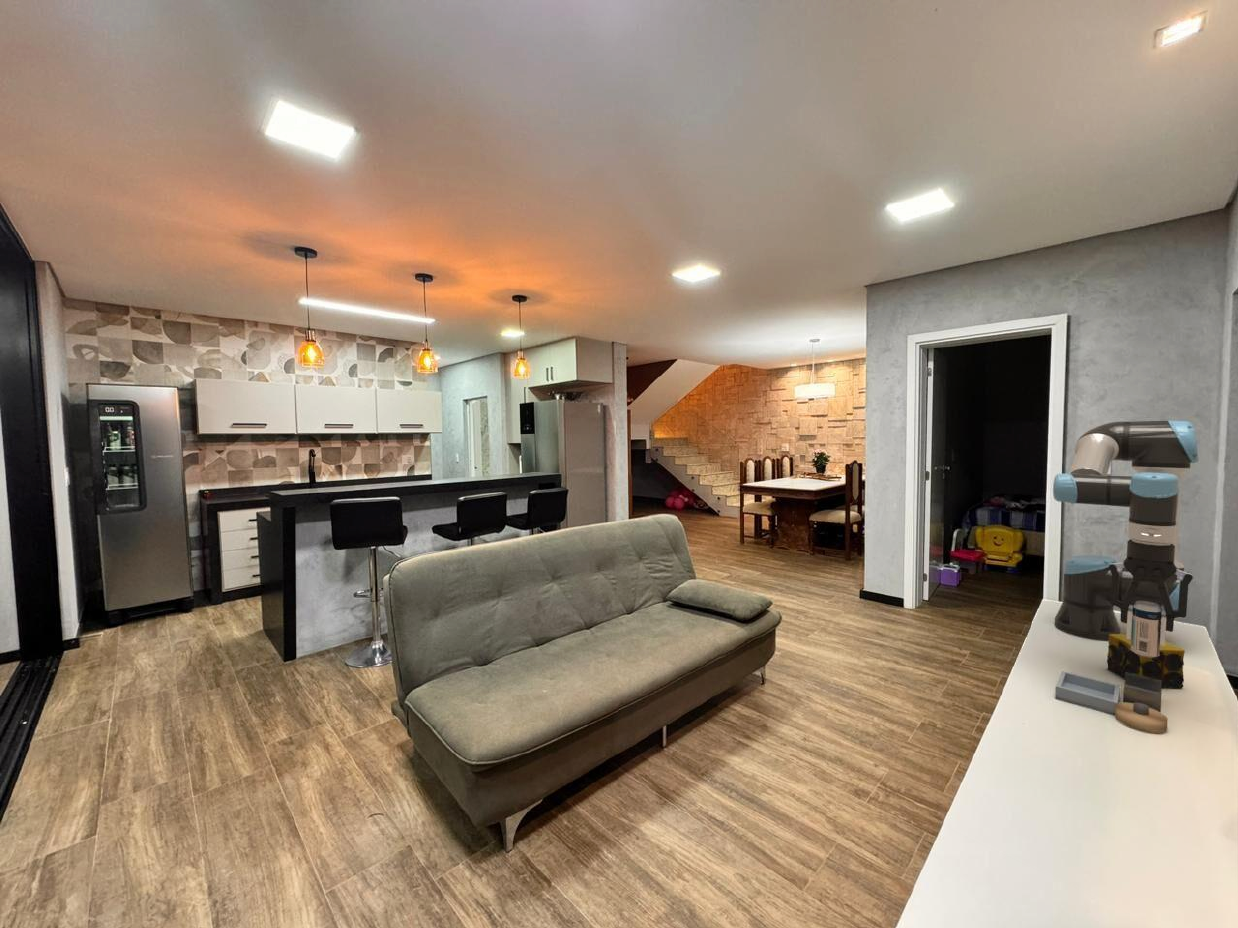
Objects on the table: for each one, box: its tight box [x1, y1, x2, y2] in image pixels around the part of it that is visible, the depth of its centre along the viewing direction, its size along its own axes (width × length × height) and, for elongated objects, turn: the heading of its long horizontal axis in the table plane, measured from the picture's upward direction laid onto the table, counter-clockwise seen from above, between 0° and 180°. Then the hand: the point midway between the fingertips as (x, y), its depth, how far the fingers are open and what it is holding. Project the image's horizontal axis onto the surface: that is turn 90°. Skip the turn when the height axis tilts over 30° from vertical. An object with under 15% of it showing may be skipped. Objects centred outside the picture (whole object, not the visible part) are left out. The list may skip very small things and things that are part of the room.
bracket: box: [1122, 672, 1162, 713], centre depth 120 cm, size 9×6×5 cm, turn 134°
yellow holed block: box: [1106, 633, 1186, 690], centre depth 131 cm, size 10×10×10 cm
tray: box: [1055, 670, 1121, 716], centre depth 123 cm, size 11×11×3 cm
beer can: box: [1130, 601, 1163, 658], centre depth 119 cm, size 5×5×12 cm
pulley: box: [1114, 701, 1168, 735], centre depth 113 cm, size 8×8×4 cm
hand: (1145, 639), depth 119 cm, fingers closed on beer can, 5 cm apart
